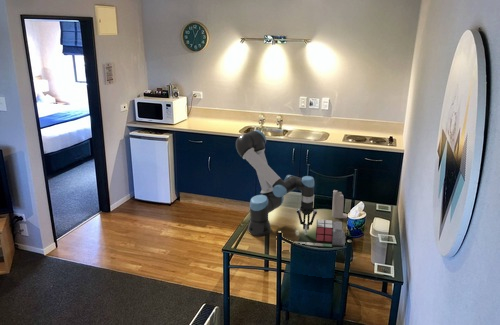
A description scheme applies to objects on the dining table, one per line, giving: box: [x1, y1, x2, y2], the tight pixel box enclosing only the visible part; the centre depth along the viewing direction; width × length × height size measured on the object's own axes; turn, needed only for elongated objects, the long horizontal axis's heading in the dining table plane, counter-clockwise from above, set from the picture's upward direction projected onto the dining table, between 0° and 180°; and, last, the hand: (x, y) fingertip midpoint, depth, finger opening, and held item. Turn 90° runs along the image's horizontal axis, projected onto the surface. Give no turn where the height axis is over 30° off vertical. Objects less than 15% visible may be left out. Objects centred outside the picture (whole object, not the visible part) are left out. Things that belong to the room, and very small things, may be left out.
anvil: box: [331, 220, 346, 247], centre depth 249 cm, size 8×16×9 cm, turn 169°
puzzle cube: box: [315, 219, 334, 243], centre depth 251 cm, size 10×10×10 cm
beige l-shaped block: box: [331, 189, 348, 219], centre depth 275 cm, size 7×14×20 cm, turn 89°
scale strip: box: [293, 240, 333, 248], centre depth 245 cm, size 23×2×1 cm, turn 79°
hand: (305, 233), depth 255 cm, fingers closed
